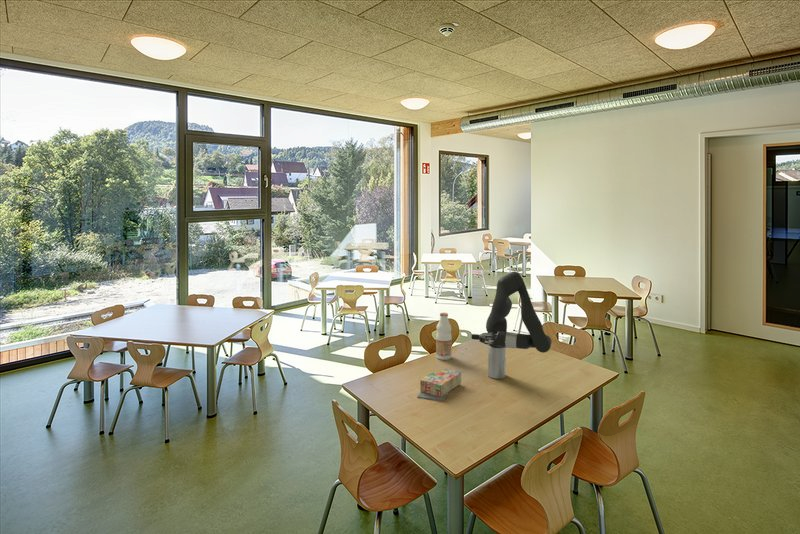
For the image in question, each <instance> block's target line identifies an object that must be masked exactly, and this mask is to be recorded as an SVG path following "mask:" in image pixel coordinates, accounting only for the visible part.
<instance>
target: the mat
mask: <svg viewBox="0 0 800 534" xmlns="http://www.w3.org/2000/svg"><path fill="white" fill-rule="evenodd" d="M448 394H449V392H447V393H446V394H444V395H443V396H442V397H439V396H435V395H432V394H428V393H425V392H421V391H420V393H419V394H418V395H417V398H418V399H423V398H424V399H423V400H432V401H439V402H444V400H446V399H445V398H447V395H448Z"/></svg>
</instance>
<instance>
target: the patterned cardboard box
mask: <svg viewBox="0 0 800 534" xmlns="http://www.w3.org/2000/svg"><path fill="white" fill-rule="evenodd" d="M419 381H420V383H419V384H420V385H419V388H420V389H419V391H420V392H425V393H428V394H432V395H435V396H439V397H442V396H443V395H444V394H446V393H447V392H448V393H449V392H450V391H451V390H453V389H455V388H456V387H457V386H458V387H459V385H461V384H462V372H461V371H458V370H453V369H448V368H446V369H443V370H442V371H440V372H438V373H436V372H431V373H429V374H428V375H425V376H424V377H423V378H420V380H419Z"/></svg>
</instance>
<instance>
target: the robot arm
mask: <svg viewBox="0 0 800 534" xmlns="http://www.w3.org/2000/svg"><path fill="white" fill-rule="evenodd" d="M495 290H496V291H495V295H494V296H495V297H494V300H493V301H492V307H491V311H490V313H489V315H488V317H487V318H486V319H487V320H486V323H485V330H486V331H487V332H482V333H479V334H477V333H472V334H471V340H477V341H479V343H483V344H485V345H488V353H487V354H488V355H487V356H488V359H487V361H488V364H487V376H488V377H489V378H491V379H494V380H495V379H500V380H501V379H505V378H506V369H507V368H506V367H507V365H506V364H507V358H506V349H507V348H508V349H518V350H519V349H520V350H521V349H523V350H528V349H530V348H531V349H533V348H535V349H536V351H537V352H539V353H542V354H544V353H547V352H549V351H550V349H551V347H552V343H553V342H552V341H553V340H552V339H551V337H550V336H549V335H547V334H546V333H545V331H544V327H543V324H542V322H541V320H540V318H539V317H538V315H537V312H536V311H535V308H534V306H533V303H532V301H531V296H530V295H529V291H528V289H527V286H526V284H525V281H524V279H523V277H522V276H521V274H520V273H519V272H517V271H511V272H509V273H507V274H505V275H503V276H502V277H500V278H499V279H498V280H497V283H496V289H495ZM515 293H518V295H519V297H520V315H521V320H522V322H523V324H524V326H525V328H526V330H527V331H528V333H529V334H526V333H518V332H517V333H516V332H511V331H508V321H507V319H506V317H508V316H509V314H510V312H511V310H512V306H513V302H512V299H511V298H510V297H511V295H513V294H515Z"/></svg>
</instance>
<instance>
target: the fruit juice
mask: <svg viewBox="0 0 800 534" xmlns="http://www.w3.org/2000/svg"><path fill="white" fill-rule="evenodd" d="M448 317H449V313H448V312H440V313H439V321H438V323H437V324H436V337H435V345H436V346H435V357H436V358H437V359H438V360H443V361H446V360H451V359H452V337H453V336H452V333H451V331H452V324H451V323H450V321H449V318H448Z"/></svg>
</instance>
